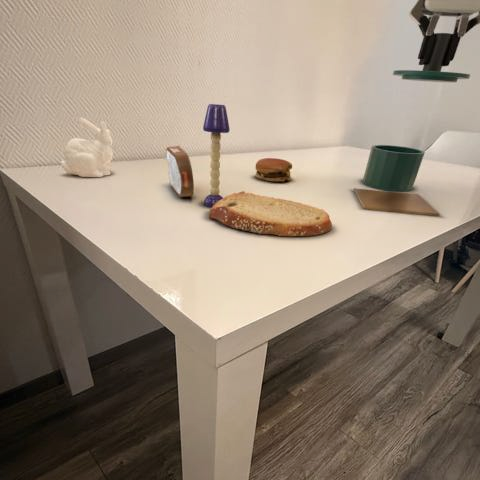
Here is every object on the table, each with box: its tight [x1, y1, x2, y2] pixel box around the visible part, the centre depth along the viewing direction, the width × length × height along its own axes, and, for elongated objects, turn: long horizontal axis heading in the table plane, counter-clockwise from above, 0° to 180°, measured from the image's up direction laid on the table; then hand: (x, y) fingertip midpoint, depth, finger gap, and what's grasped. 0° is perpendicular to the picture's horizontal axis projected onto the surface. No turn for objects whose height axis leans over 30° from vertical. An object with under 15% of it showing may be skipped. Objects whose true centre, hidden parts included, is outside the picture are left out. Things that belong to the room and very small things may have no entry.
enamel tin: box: [362, 144, 426, 192], centre depth 85 cm, size 12×12×8 cm
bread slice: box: [208, 190, 333, 237], centre depth 58 cm, size 18×18×4 cm
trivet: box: [353, 187, 440, 217], centre depth 74 cm, size 15×15×1 cm
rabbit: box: [60, 116, 114, 178], centre depth 75 cm, size 12×9×12 cm
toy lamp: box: [202, 103, 231, 208], centre depth 61 cm, size 5×5×17 cm
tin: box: [165, 145, 195, 198], centre depth 69 cm, size 15×3×8 cm, turn 20°
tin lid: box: [392, 32, 471, 83], centre depth 62 cm, size 13×13×7 cm
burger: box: [255, 157, 293, 183], centre depth 85 cm, size 10×9×5 cm
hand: (433, 64), depth 62 cm, fingers closed on tin lid, 3 cm apart
